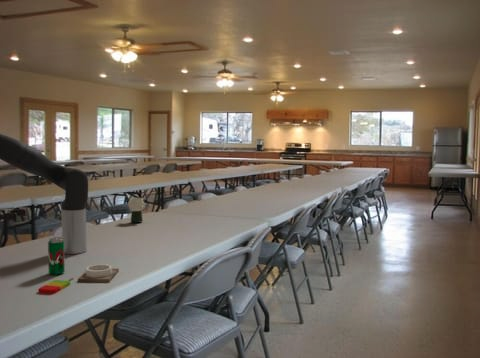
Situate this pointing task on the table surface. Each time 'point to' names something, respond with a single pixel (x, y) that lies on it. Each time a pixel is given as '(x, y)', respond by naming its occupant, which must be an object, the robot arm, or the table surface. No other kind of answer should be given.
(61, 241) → the soda can
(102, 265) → the socket plate
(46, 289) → the popsicle
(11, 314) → the table surface
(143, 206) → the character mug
